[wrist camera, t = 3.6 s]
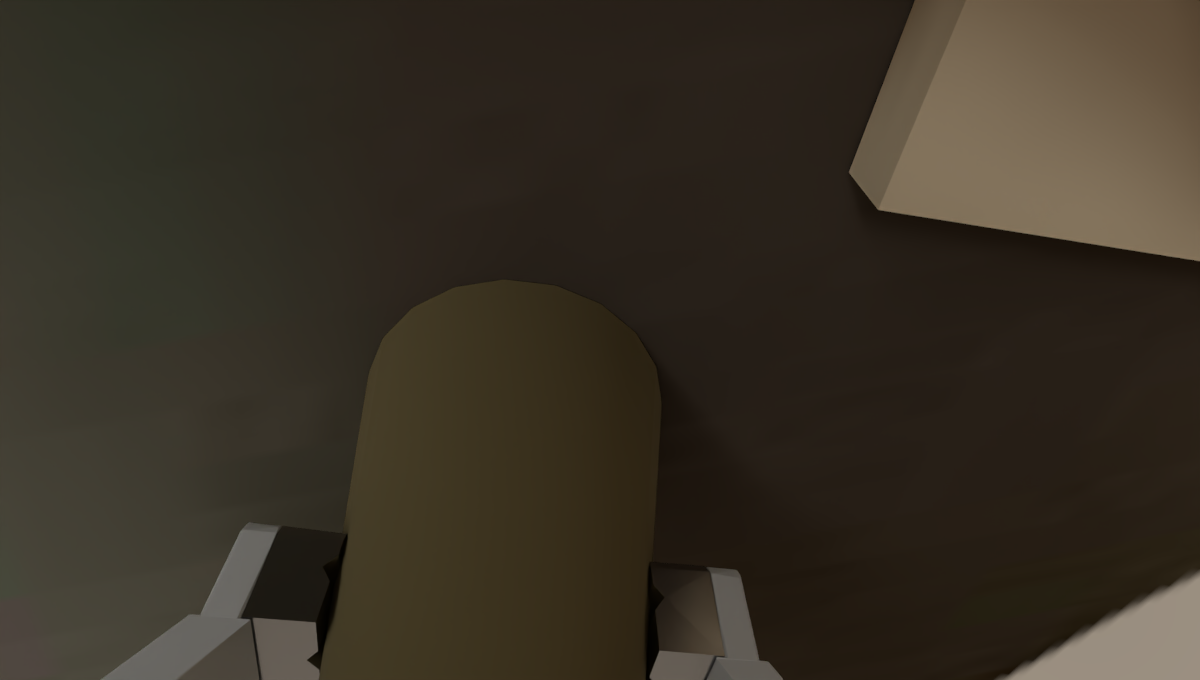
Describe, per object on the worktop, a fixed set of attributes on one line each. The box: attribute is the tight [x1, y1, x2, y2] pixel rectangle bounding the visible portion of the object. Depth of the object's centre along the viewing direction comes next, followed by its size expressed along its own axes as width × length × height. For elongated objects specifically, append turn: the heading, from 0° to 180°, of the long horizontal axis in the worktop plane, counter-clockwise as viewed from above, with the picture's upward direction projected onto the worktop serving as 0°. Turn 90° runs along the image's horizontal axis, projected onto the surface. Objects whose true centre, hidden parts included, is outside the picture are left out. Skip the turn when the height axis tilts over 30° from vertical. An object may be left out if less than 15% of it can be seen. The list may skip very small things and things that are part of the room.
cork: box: [319, 279, 662, 680], centre depth 11 cm, size 6×6×11 cm
